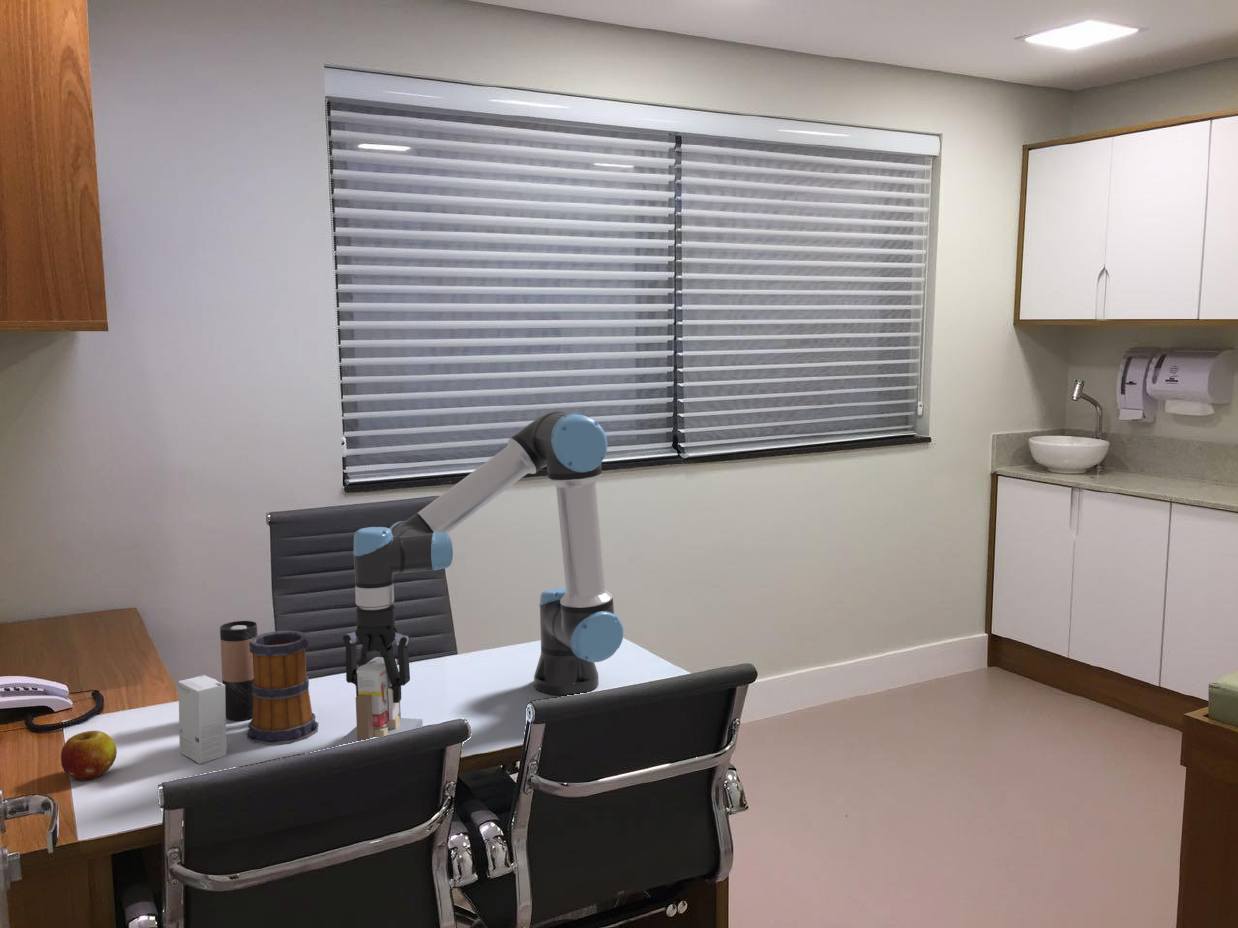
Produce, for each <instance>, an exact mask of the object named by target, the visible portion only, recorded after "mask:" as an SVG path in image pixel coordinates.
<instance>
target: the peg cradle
mask: <svg viewBox="0 0 1238 928" xmlns="http://www.w3.org/2000/svg"><path fill="white" fill-rule="evenodd" d="M355 716H356V717H355V718H356V726H355V727H354V728H353V729H352V730H351V731H349V732H348V733H347V734H346V735H344V737H342V738H341V739H340V740H339V741H338V742H337V743H335V745H334V747H335V746H339V745H343V744H348V743H352V742H356V741H361V740H366V739H370V738H373V737H382V736H385V735H389V734H394V733H398V732H402V731H407V730H411V729H415V728H418V727H421V728H422V727H423V719H422V718H409V717H408V718H407V717H402V716H401V701H400V702H399V714H398V716H397V717H396V718H394V719H393V720H390V721H388V722H387V723H386V724H385V725H383V726H382V727H373V723H372V697H371V695H367V694H359V695H358V696H357V697H356V696H355Z"/></svg>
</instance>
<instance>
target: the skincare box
mask: <svg viewBox="0 0 1238 928" xmlns="http://www.w3.org/2000/svg"><path fill="white" fill-rule="evenodd" d="M177 682H178V728H179V729H178V731H179V754H181V755H184V756H185V757H187V758H190V759H191V760H193V761H194V762H196V763H197V764H203V763H208V762H210V761H213V760H216V759H220V758H223V757H226V756H227V718H226V706H225V685H224V684H223V682H220V681H218V680H217V679H215V678H213V677H209V676H208V675H205V674H203V675H200V676H199V675H198V676H194V677H192V678H187V679H182V680H178V681H177Z"/></svg>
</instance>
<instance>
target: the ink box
mask: <svg viewBox="0 0 1238 928" xmlns="http://www.w3.org/2000/svg"><path fill="white" fill-rule="evenodd" d="M395 660H396V664H397V665H398V658H395ZM357 677H358V695H359V694H367V695H371V697H372V723H373V727H382V726H383V725H385V724H386V723H387V722H388V721H390V720H389V701H388V688H389V687H391V682H390V679H389V676H388V672H387V669H386V666H385V662H384V659H383V657H382V656H375V657H374V658H372V659H370V661H369V662H368V663H367V664H365V665H362V666H360V667H358V666H357ZM398 714H399V702H398Z"/></svg>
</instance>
